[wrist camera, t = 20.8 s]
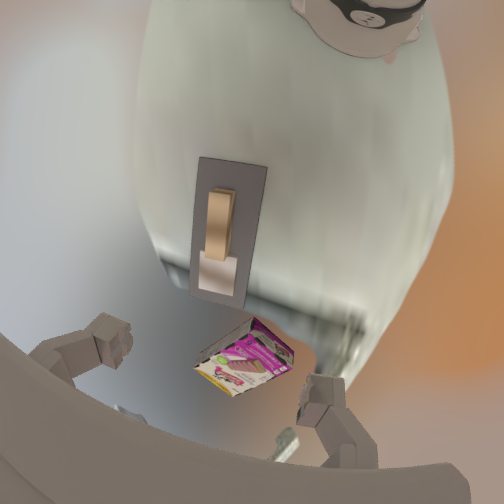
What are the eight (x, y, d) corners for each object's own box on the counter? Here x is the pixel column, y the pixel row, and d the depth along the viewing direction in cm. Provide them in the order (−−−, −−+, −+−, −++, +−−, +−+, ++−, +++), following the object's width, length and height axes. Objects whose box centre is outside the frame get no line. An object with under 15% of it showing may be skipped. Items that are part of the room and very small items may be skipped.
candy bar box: (293, 370, 45) (233, 398, 52) (295, 351, 50) (238, 381, 57) (247, 333, 43) (191, 368, 50) (253, 314, 48) (199, 351, 55)
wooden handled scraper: (206, 186, 40) (199, 190, 37) (246, 192, 39) (241, 197, 37) (200, 285, 47) (194, 294, 44) (234, 293, 46) (229, 302, 44)
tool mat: (200, 157, 39) (199, 157, 38) (267, 167, 38) (266, 167, 37) (190, 293, 49) (188, 295, 49) (243, 307, 48) (243, 309, 47)
